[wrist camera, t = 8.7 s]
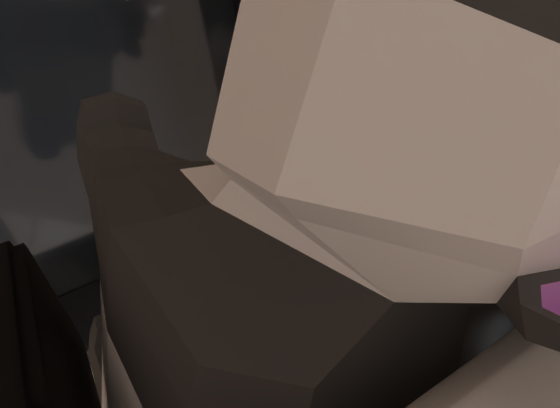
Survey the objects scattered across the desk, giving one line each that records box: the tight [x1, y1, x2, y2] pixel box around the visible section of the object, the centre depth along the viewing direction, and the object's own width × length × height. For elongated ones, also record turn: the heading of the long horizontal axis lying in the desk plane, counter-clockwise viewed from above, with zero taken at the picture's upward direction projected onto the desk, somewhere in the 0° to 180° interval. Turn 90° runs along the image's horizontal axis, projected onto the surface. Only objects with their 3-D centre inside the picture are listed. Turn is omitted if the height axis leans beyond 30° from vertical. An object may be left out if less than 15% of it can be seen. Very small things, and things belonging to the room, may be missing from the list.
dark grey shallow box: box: [0, 0, 241, 365], centre depth 16 cm, size 18×14×5 cm
